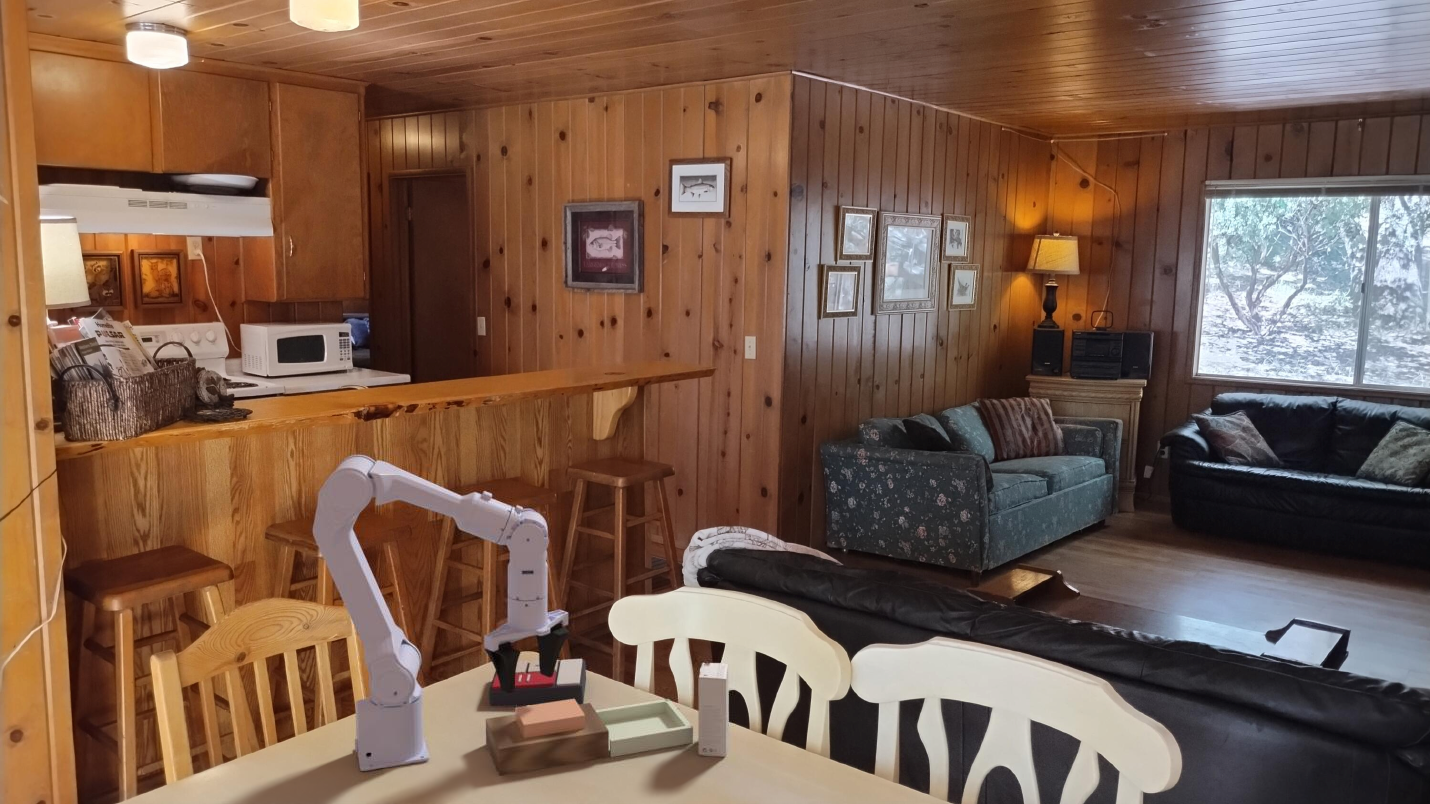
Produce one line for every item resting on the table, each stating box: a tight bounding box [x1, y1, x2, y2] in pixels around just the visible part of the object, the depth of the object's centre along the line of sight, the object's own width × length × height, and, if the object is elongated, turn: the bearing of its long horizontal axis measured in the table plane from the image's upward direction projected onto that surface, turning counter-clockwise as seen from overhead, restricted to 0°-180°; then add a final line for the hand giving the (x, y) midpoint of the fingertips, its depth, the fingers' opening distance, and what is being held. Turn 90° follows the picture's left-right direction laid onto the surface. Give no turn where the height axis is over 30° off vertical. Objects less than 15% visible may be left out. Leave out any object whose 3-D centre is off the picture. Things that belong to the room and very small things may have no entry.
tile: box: [514, 699, 585, 738], centre depth 155 cm, size 9×6×2 cm, turn 113°
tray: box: [594, 698, 694, 758], centre depth 161 cm, size 13×11×2 cm
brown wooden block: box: [485, 702, 610, 776], centre depth 155 cm, size 16×10×4 cm, turn 113°
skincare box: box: [697, 662, 730, 757], centre depth 157 cm, size 6×4×12 cm
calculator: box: [488, 658, 587, 707], centre depth 175 cm, size 11×4×15 cm
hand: (527, 682), depth 155 cm, fingers open, 7 cm apart
